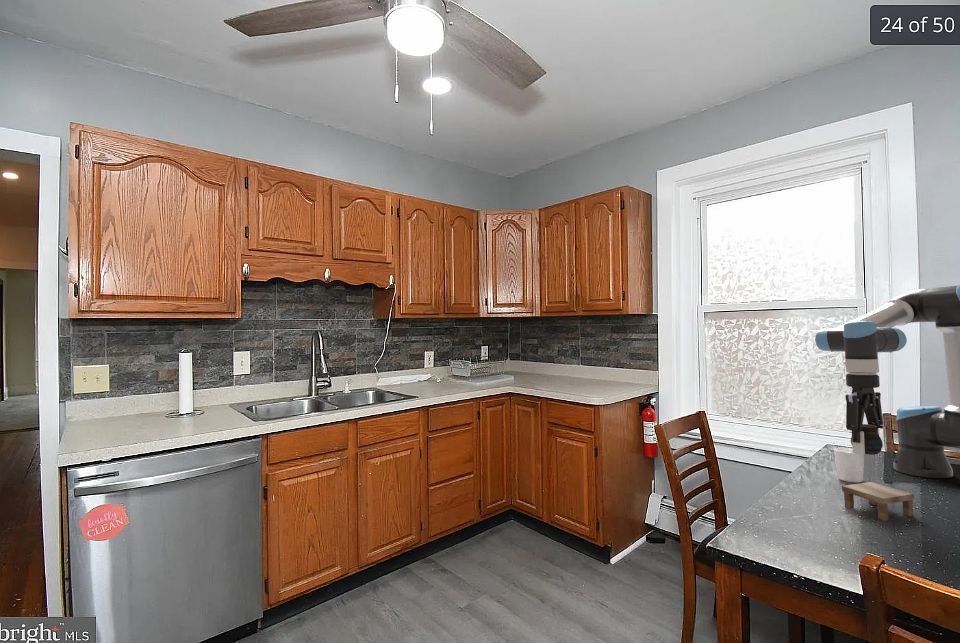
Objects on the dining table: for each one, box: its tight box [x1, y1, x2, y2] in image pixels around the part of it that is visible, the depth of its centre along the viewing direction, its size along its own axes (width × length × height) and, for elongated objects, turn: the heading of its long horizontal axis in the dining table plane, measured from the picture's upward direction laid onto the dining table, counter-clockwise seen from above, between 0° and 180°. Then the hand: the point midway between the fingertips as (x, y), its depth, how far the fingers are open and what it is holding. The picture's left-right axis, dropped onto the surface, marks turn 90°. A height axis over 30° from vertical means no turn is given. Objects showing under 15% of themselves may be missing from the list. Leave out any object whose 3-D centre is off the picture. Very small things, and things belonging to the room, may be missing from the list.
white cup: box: [833, 447, 865, 484], centre depth 156 cm, size 8×8×10 cm
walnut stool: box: [841, 481, 915, 522], centre depth 129 cm, size 11×11×6 cm
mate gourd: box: [850, 423, 884, 456], centre depth 133 cm, size 7×8×10 cm
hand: (866, 451), depth 133 cm, fingers closed on mate gourd, 7 cm apart
